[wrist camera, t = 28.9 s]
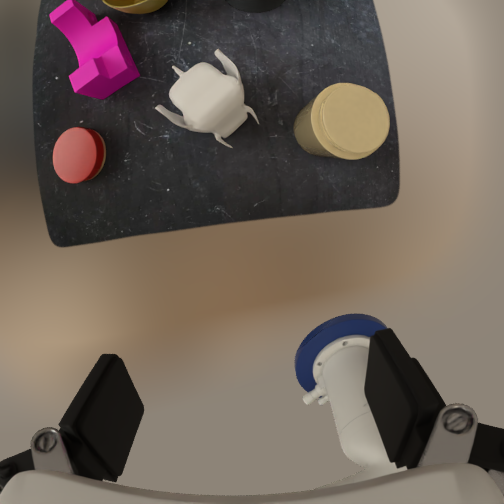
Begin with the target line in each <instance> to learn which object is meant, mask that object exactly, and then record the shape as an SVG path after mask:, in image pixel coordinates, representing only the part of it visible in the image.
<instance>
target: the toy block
mask: <svg viewBox="0 0 504 504" xmlns="http://www.w3.org/2000/svg"><path fill="white" fill-rule="evenodd" d="M49 15H50V19H51V22H52V24H54V25H55V26H56V27H58V28H59V29H60V30H61V31H62V32H63V33H64V34H65V36H66V37H67V38H68V40H69V41H70V43H71V44H72V46H73V48H74V50H75V52H76V54H77V57H78V61H79V69H77V70H76V71H75V72H73V73H72V74H71V75H70V76H69V78H70V81H71V84H72V86H73V89H74V92H75V93H79V94H82V95H86V96H90V97H94V98H98V99H101V100H103V99H105V98H106V97H108V96H109V95H111V94H112V93H114V92H115V91H117V90H118V89H120V88H121V87H123V86H124V85H126V84H128V83H129V82H131V81H132V80H134V79H136V78H137V77H139V76H140V74H139V72H138V70H137V67H136V65H135V63H134V61H133V59H132V56H131V54H130V52H129V50H128V48H127V45H126V43H125V41H124V39H123V36H122V34H121V32H120V30H119V28H118V25H117V24H116V23H115V22H114V21H112V20H111V19H110V18H109V17H105V18H104V19H102V20H101V21H99V22H98V21H97V18H96V16H95V14H94V13H92V12H91V11H89V10H88V9H87V8H85V7H84V6H82V5H81V4H80V3H78V2H77V1H75V0H67V1H66V2H64V3H63V4H62V5H60V6H59V7H58V8H57V9H55V10H54V11H53V12H52V13H50V14H49Z"/></svg>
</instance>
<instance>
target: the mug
mask: <svg viewBox="0 0 504 504" xmlns="http://www.w3.org/2000/svg"><path fill="white" fill-rule="evenodd" d="M226 1H227V2H228V3H229V4H230V5H231V6H233V7H234V8H236V9H238V10H241V11H245V12H255V13H260V12H265V11H270V10H272V9H274V8H277V7H279V6H280V5H281V4H282V3H283V2H284V1H285V0H226Z"/></svg>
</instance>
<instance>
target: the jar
mask: <svg viewBox="0 0 504 504" xmlns="http://www.w3.org/2000/svg"><path fill="white" fill-rule="evenodd" d="M389 127H390V120H389V114H388V110H387V107H386V106H385V104H384V102H383V100H382V99H381V98H380V97H379V96H378V95H377V94H376V93H374V92H372V91H371V90H369V89H367V88H365V87H362V86H359V85H355V84H351V83H338V84H334V85H331V86H329V87H327V88H326V89H324V90H323V91H322V92H321V93H320V94H318V95H317V96H316V97H315V98H314V99H313V100H311V101H310V102H309V103H308V104H307V105H306V106H305V107H304V108H302V109H301V110H300V112H299V113H298V114H297V116H296V118H295V121H294V134H295V137H296V140H297V142H298V143H299V145H300V146H301V147H302V148H303V149H304V150H305V151H306V152H308V153H310V154H312V155H315V156H319V157H331V158H341V159H361V158H364V157H366V156H368V155H370V154H372V153H373V152H374V151H375V150H376V149H378V148H379V147H380V146H381V145H382V144H383V142H384V141H385V139H386V137H387V135H388V131H389Z"/></svg>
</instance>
